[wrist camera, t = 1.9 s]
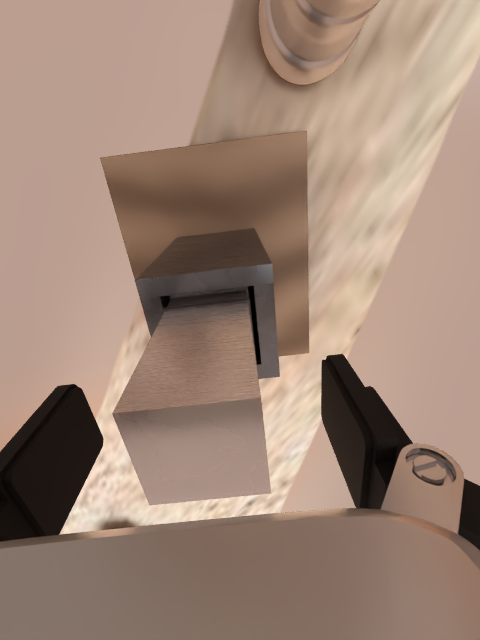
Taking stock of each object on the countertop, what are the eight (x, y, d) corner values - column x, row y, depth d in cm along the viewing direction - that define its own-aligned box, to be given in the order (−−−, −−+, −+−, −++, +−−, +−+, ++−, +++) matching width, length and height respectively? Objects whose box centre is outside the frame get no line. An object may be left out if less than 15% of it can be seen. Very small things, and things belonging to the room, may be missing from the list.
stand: (107, 159, 24) (-25, 134, 11) (302, 133, 23) (380, 80, 11) (163, 361, 32) (122, 470, 20) (305, 345, 32) (351, 447, 20)
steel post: (193, 251, 25) (107, 411, 8) (241, 245, 25) (264, 394, 8) (201, 295, 27) (147, 507, 9) (246, 290, 27) (274, 495, 9)
